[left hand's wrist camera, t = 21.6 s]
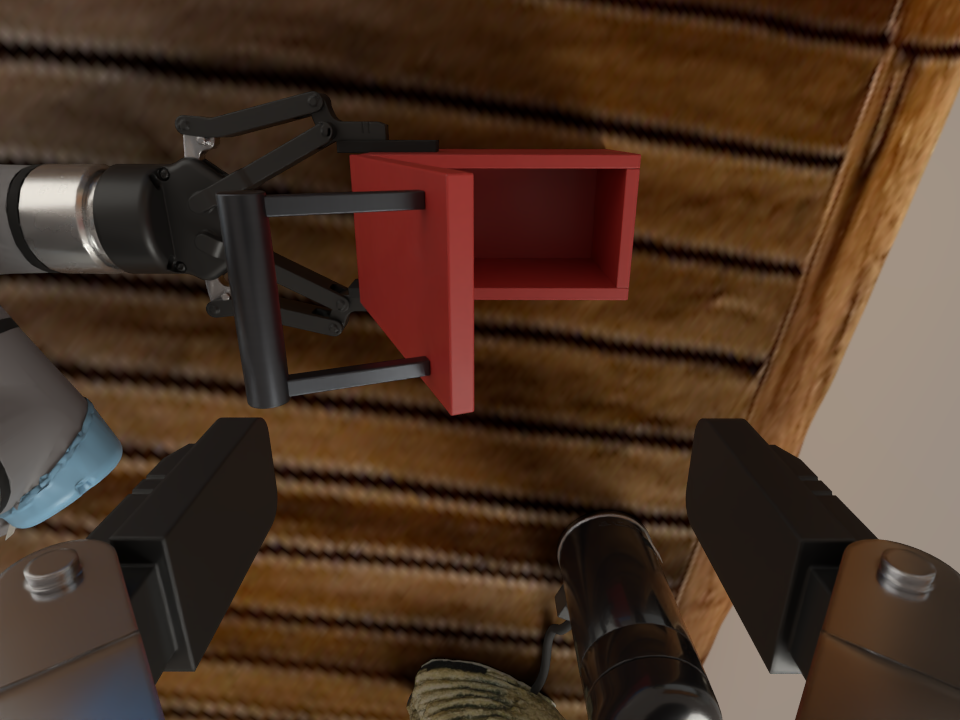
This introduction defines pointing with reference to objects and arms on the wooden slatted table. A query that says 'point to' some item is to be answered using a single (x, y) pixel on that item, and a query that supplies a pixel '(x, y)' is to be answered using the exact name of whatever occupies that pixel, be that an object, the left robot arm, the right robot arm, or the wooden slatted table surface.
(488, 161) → the chest
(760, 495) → the left robot arm
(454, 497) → the wooden slatted table surface
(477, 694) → the fossil
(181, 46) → the wooden slatted table surface
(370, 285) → the lid
